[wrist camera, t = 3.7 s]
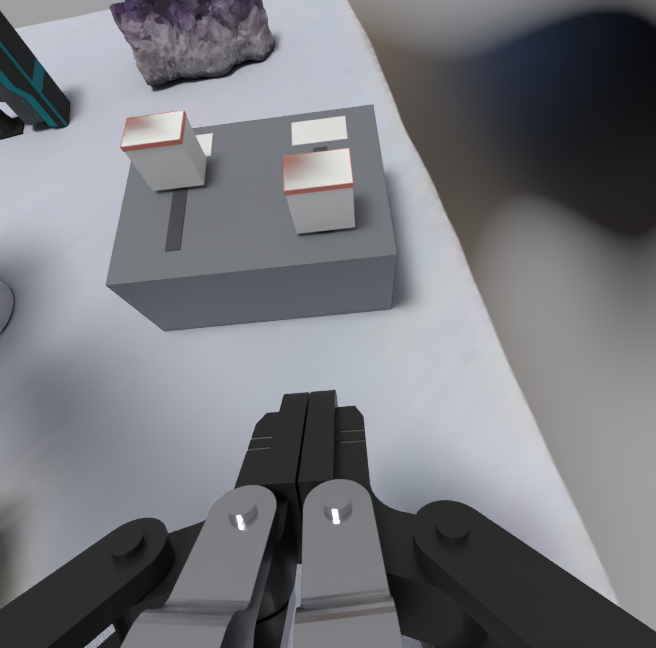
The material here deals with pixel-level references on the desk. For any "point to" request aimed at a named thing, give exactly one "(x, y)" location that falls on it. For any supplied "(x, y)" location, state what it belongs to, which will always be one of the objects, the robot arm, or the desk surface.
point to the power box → (256, 231)
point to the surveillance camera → (26, 87)
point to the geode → (193, 36)
